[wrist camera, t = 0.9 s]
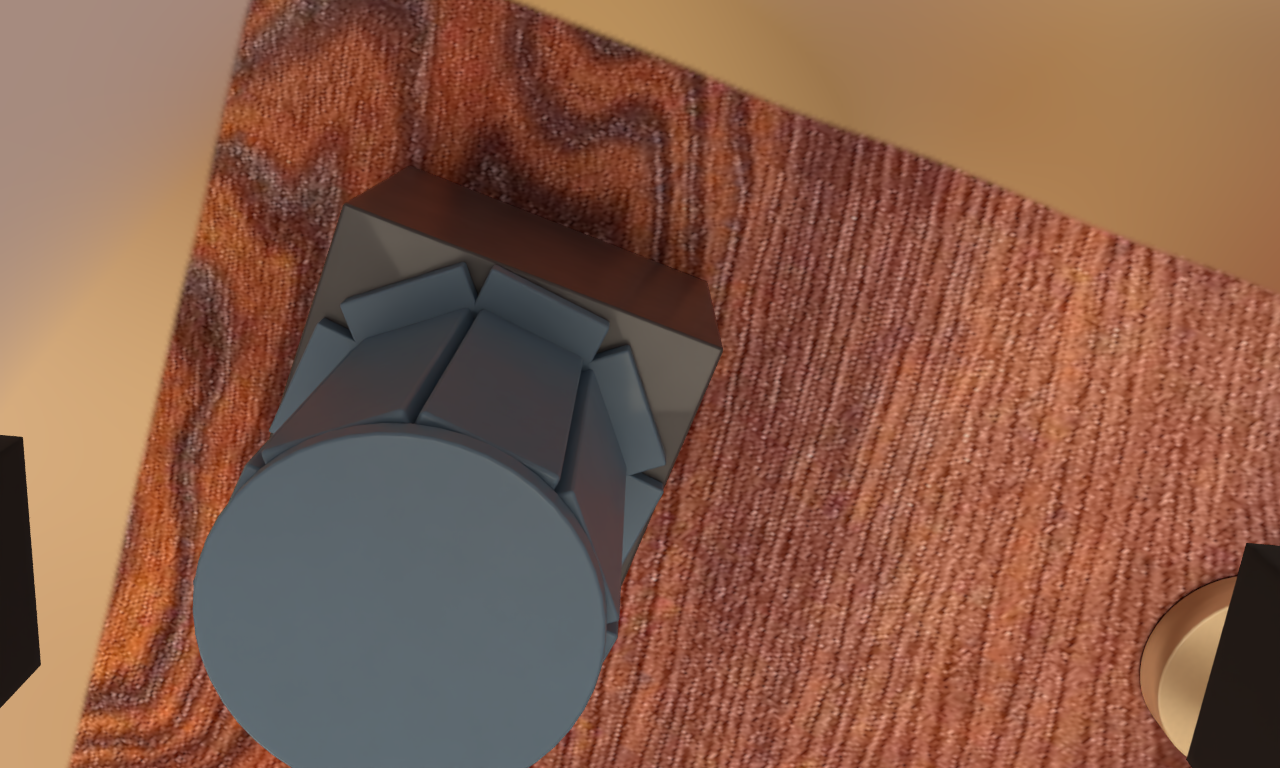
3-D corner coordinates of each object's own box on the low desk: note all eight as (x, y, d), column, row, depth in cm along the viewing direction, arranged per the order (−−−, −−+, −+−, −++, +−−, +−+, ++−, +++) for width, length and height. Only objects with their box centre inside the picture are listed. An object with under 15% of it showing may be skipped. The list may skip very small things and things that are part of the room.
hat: (589, 221, 28) (563, 308, 19) (701, 564, 30) (723, 774, 22) (226, 335, 29) (45, 467, 20) (366, 658, 31) (260, 896, 23)
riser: (409, 164, 35) (343, 202, 28) (708, 281, 36) (724, 349, 29) (315, 447, 38) (232, 552, 30) (596, 548, 39) (583, 674, 31)
